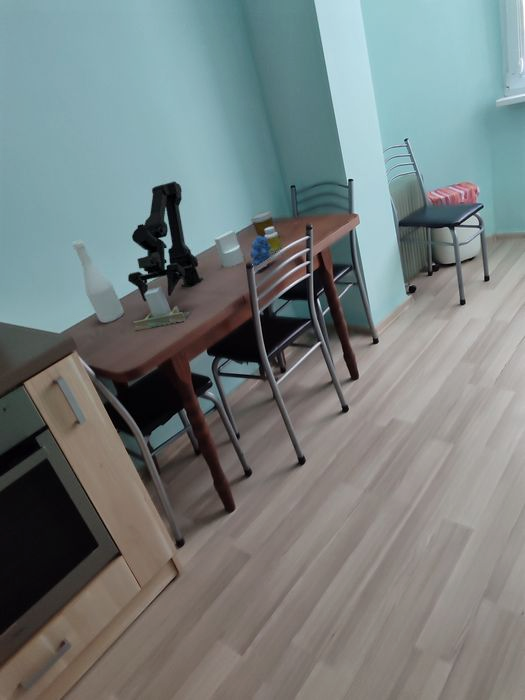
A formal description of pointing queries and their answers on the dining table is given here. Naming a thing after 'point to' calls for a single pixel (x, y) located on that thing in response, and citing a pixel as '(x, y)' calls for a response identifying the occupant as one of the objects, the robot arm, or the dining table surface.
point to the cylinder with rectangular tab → (229, 249)
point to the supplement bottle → (272, 239)
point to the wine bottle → (98, 288)
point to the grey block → (157, 302)
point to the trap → (161, 319)
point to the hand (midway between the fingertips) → (157, 298)
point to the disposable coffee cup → (262, 222)
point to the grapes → (260, 250)
